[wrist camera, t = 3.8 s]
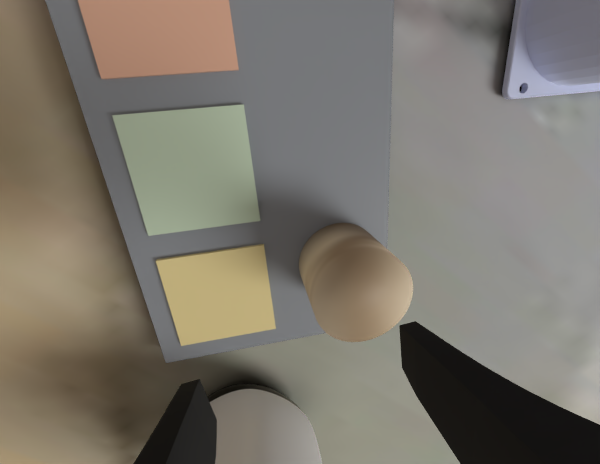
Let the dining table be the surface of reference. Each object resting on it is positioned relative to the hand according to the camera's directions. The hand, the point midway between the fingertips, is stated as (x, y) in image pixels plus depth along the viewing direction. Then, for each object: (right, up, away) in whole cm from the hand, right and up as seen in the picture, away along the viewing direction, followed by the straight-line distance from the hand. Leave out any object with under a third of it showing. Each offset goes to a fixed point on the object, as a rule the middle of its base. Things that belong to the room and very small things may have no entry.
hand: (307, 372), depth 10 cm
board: (-3, +9, +5) cm, 10 cm away
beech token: (+2, +3, +7) cm, 8 cm away
